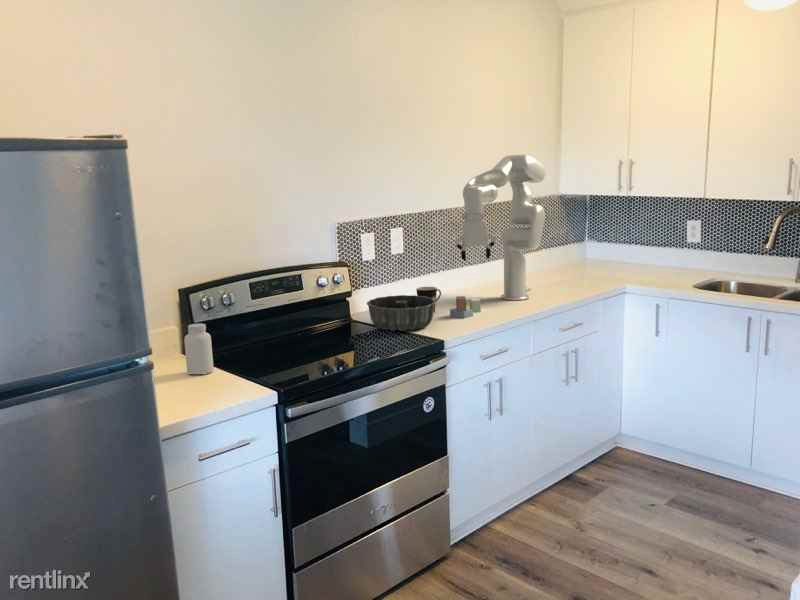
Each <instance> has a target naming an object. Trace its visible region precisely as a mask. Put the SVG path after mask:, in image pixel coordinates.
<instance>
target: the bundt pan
mask: <svg viewBox="0 0 800 600" xmlns="http://www.w3.org/2000/svg"><path fill="white" fill-rule="evenodd" d="M435 303H436V304H437V302H436V300H433V298H428V297H425V296H417V295H414V294H413V295H412V294H411V295H407V294H406V295H405V294H404V295H403V294H401V295H388V296H381V297H376V298H372V299H369V301H367V302H366V305H367V306H368V311H369V316H370V319H371V322H372V324H373V325H374V327H376V328H377V329H380V330H386V331H389V330H390V331H391V332H395V331H399V332H404V331H407V330H408V331H409V332H411V331H413V330H420V329H423V328H427V327H428V326H429V325H430V324H431V322H432V320H433V317H434V314H435V312H434V306H435ZM435 307H436V306H435Z"/></svg>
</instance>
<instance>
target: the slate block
mask: <svg viewBox="0 0 800 600" xmlns="http://www.w3.org/2000/svg"><path fill="white" fill-rule="evenodd" d="M449 316H450V317H454V316H455V318H459V319H460V318H461V319H468V318H472V317H474V313H473V310H470V308H466V311H457V309H456V307H455V308H450V309H449Z"/></svg>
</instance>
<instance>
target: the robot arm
mask: <svg viewBox="0 0 800 600" xmlns="http://www.w3.org/2000/svg"><path fill="white" fill-rule="evenodd" d="M545 169H546V168H545V167H544V165H543V164H542V163H541V162H540V161H538V160H537V159H536V158H534V157H533V156H530V155H529V154H512V155H506V156H504V157H503V158H501V160H500V161H499V162H498V163H496V164H495V165H494V167H493V168H492V169H490V170H487V171H485V172H482V173H480V174H478V175H476V176H474V177H473V178H471V179H470V180H469V181H468V182H467V183H466V184H465V185H464V186H463V190H462V198H463V200H464V201H463V202H464V203H463V204H464V214H461V219H464V220H463V222H462V232H461V233H462V235H460V236H459V237H457V238H455V239H454V240H453V242H454V244H455V246H456V247H457V248H458V249H459V250H460V255H461V256H460V258H461V259H462V260H463V261H464V262H465V261H466V260H467V256H466V255H467V254H466V248H467V247H478V246H479V247H480V246H485V247H486V248H485V258H486V259H488V260H490V257H491V256H492V255H491V249H492V247H493V246H494V245H495V243H496V241H497V238H498V237H496V236H494V235H493V234H489V230H488V229H489V228H488V224H487V220H486V219H485V217H484V216H485V215H484V204H485V203H493V202H494V201H496V200H497V198H498V196H499V195H498V194H499V191H498V188H501V187H504V186H505V185H506V184H507V183H508V182H509V185H510V187H511V191H512V199H511V204H510V210H509V214H508V215H509V216H508V220H509V224H511V225H512V226H516V227H508V228H505V229H503V231H502V232H501V236H500V238H501V239H500V240H501V245H502V250H503V288H504V289H503V293H502V294H501V295H500V299H501V298H502V299H501V300H504V301H524V300H528V299H530V295H529V294H528V293H529V292H530V291H531V290H532V289H531V287H530V286H528V287H526V284H527V283H526V268H527V267H526V263H527V262H526V257H525V254H524V253H523V251H525V250H526V251H527V250H528V251H532V250H533V251H534V250H537V249H538V248H539V247H540V245H541V242H542V239H543V237H542V236H543V232H544V227H545V221H546V212H545V209H544V207H543V206H542V205H540V204H536V203H534V204H532V198H533V195H532V191H531V189H530V187H529V186H528V185H527V184H537V183H541V182H542V181H544V179H545V176H546V170H545ZM517 226H519V227H517ZM489 239H491V241H490V240H489ZM460 241H462V245H461V244H459V243H460ZM522 250H523V251H522Z"/></svg>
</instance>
